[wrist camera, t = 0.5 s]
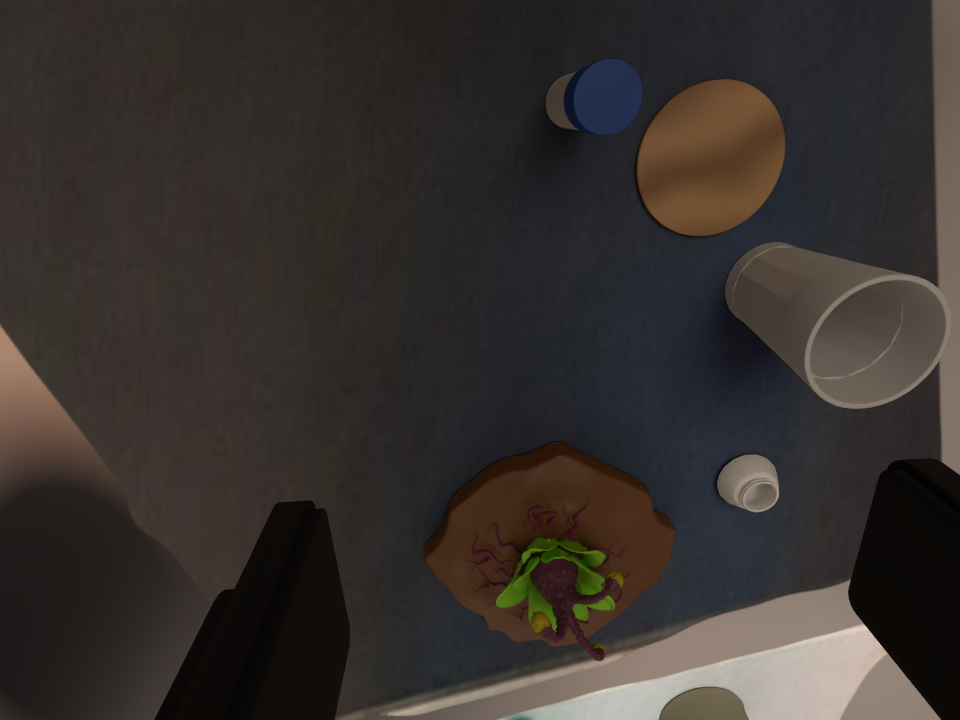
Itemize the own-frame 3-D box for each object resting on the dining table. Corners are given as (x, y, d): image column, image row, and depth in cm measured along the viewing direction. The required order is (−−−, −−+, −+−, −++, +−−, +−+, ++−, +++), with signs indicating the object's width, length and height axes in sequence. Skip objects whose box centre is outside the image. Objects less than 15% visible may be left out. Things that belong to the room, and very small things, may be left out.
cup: (743, 217, 40) (852, 257, 29) (841, 247, 41) (982, 295, 30) (696, 320, 43) (779, 391, 32) (789, 344, 44) (899, 421, 33)
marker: (534, 94, 36) (560, 87, 27) (579, 61, 35) (622, 42, 26) (561, 141, 37) (594, 149, 28) (605, 109, 37) (655, 108, 28)
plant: (544, 403, 45) (570, 488, 35) (699, 525, 51) (760, 629, 41) (392, 553, 51) (376, 664, 41) (547, 648, 56) (567, 767, 46)
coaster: (609, 140, 37) (611, 140, 37) (747, 45, 35) (750, 44, 35) (675, 262, 41) (676, 263, 41) (803, 181, 39) (807, 182, 39)
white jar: (722, 508, 50) (777, 488, 50) (738, 530, 47) (796, 508, 47) (708, 465, 48) (765, 443, 48) (724, 485, 46) (784, 462, 45)
